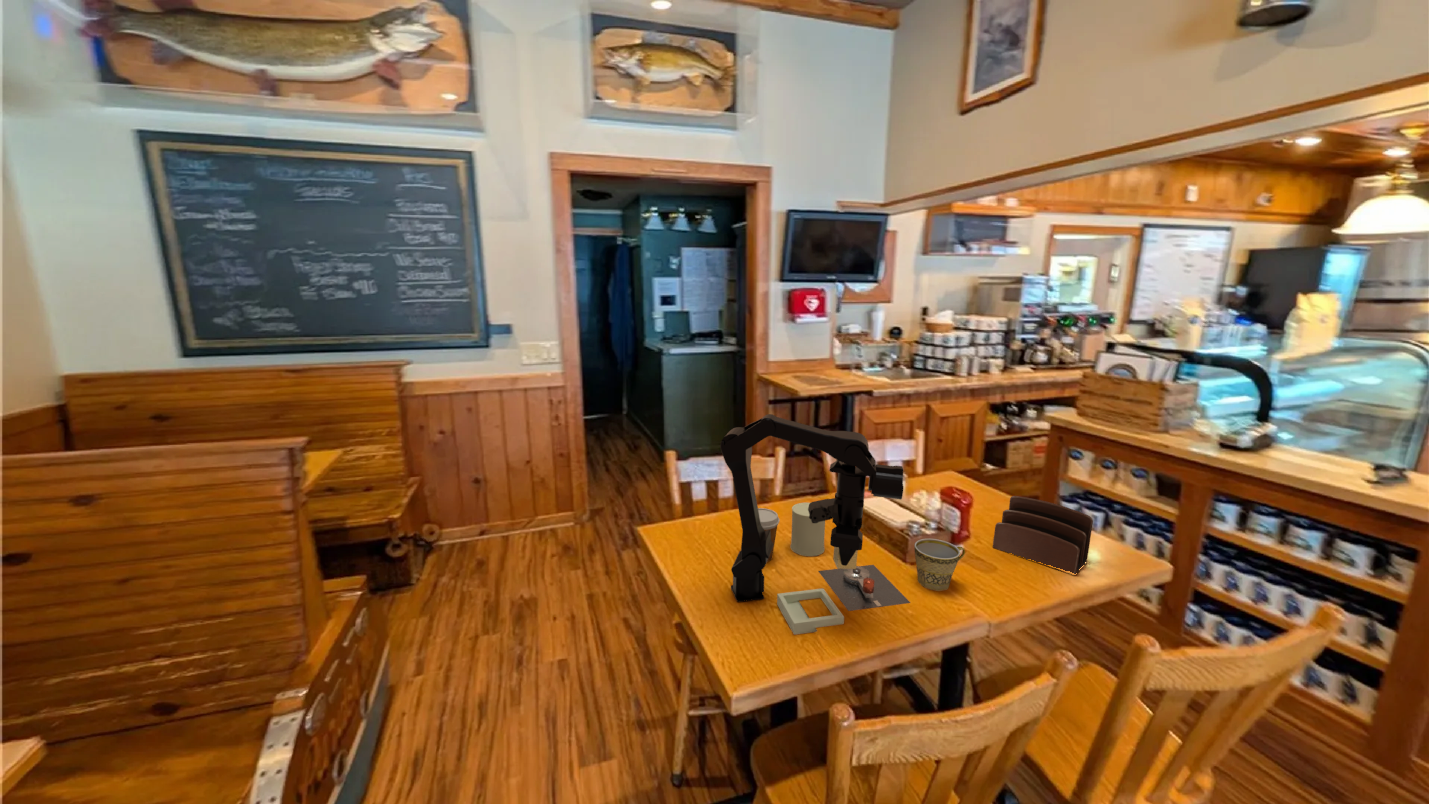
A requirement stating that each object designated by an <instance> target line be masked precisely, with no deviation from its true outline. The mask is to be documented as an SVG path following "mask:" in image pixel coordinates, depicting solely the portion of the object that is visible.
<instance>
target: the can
mask: <svg viewBox="0 0 1429 804" xmlns="http://www.w3.org/2000/svg"><path fill="white" fill-rule="evenodd" d="M810 503H811V502H799V503H796V504H794V505H793V506H792V507H791V538H790V539H791V540H790V542H791V543H790V549H791V551H792V552H794V553H795V554H796V555H799V556H803V557H817V556H820V555H822V554H823V553H824V552H825V534H826V533H825V530H826V521H821V522H818V523H812V521H811V519H810V518H809V511H808V507H809V504H810Z"/></svg>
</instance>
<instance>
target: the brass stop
mask: <svg viewBox="0 0 1429 804" xmlns="http://www.w3.org/2000/svg"><path fill="white" fill-rule="evenodd" d="M858 551H859V550H856V552H855V553H854V555H853V556H852V558H851V559H850V561H849V563H848V564H847V565H846V566H845V565H842V564H841V558H840V552H839V547H833V555H832V559H833V562H834V564H835V567H836V569H856V566H857V564H858V563H857V562H858Z"/></svg>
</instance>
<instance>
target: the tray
mask: <svg viewBox="0 0 1429 804" xmlns="http://www.w3.org/2000/svg"><path fill="white" fill-rule="evenodd" d="M776 594H777V596H776V601H777V602H776V605H777V606H778V608H779V610H780V612H781V614H782V616H783V618H784V619H785V621H786V623H787V625H788V627H789V628H790V630H791V632H792V634H793V635H795V636H796V635H802V634H809V633H816V632H817V633H818V629H817V628H822V627H824V628H825V627H830V626H831V627H832V626H839V625H844V623H845V616H844V615H843V613H842V612H841V611H840V609H839V607H837V605H836V603H834V601H833V600H832V599H831V597H830V596H829V594H828V592H827V591H826V590H825V588H815V589H806V590H799V591H790V592H789V591H788V592H781V593H776ZM813 599H821V601H822V602H823V604H824V605H825V606H826V607H827V609H828V610H829V612H830V614H831V615H826V616H825V615H824V616H818V617H816V616H815V617H809V615H808V613H807V612H806V610H805V609H804V607H803V606H802V604H801V602H800V601H804V600H813Z"/></svg>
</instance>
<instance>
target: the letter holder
mask: <svg viewBox="0 0 1429 804" xmlns="http://www.w3.org/2000/svg"><path fill="white" fill-rule="evenodd" d="M1001 517H1002V518H1001V522H1000V521H998V522H996V524H995V527H994V535H993V539H992V548H993V549H996V550H999V551H1001V552H1003V551H1005V552H1004V553H1006V552H1007V554H1009V553H1012V554H1014V555H1013V556H1015V555H1017V556H1016V557H1018V556H1021V557H1024V558H1026V559H1025V560H1027V559H1031V560H1034V561H1036V562H1041V563H1043V564H1046V565H1051V566H1053V567H1056V568H1060V569H1063V570H1065V571H1070V572H1072V573H1074V574H1076V573H1077V572H1078V571H1079V569H1080V568H1081V567H1082V566H1083V565H1084V564H1085V562H1087V563H1088V557H1089V550H1090V545H1091V544H1090V543H1091V535H1092V530H1093V525H1094V520H1093V518H1092V517H1091V516H1090V515H1088V514H1085V513H1083V512H1081V511H1078V510H1076V509H1073V508H1070V507H1067V506H1064V505H1060V504H1058V503H1057V504H1056V503H1054V502H1049V501H1045V500H1041V499H1037V498H1033V497H1032V498H1031V497H1026V496H1019V495H1018V496H1017V495H1012V496H1011V497H1010V499H1009V506H1008V509H1005V510H1003V511H1002V516H1001ZM1012 554H1011V555H1012ZM1021 557H1020V558H1021ZM1024 558H1023V559H1024ZM1085 565H1086V564H1085ZM1079 572H1080V571H1079ZM1079 572H1078V573H1079Z"/></svg>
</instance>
